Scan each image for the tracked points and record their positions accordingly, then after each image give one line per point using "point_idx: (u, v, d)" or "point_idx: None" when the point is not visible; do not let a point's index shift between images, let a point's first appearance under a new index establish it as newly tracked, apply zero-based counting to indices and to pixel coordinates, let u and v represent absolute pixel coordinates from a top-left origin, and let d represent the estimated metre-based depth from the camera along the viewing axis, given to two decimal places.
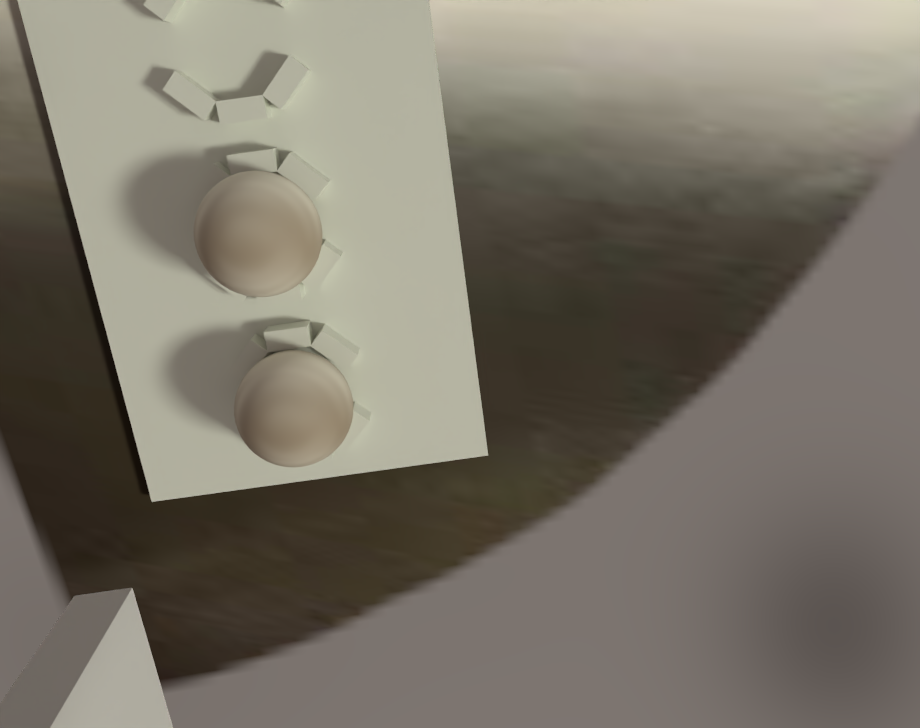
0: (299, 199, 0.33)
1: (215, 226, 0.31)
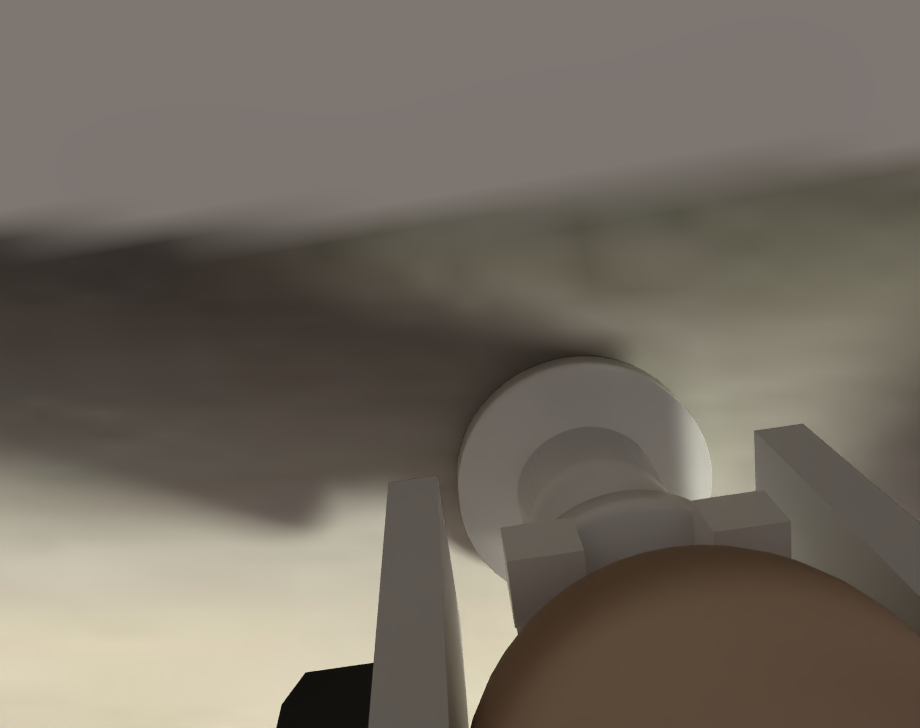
0: None
1: None
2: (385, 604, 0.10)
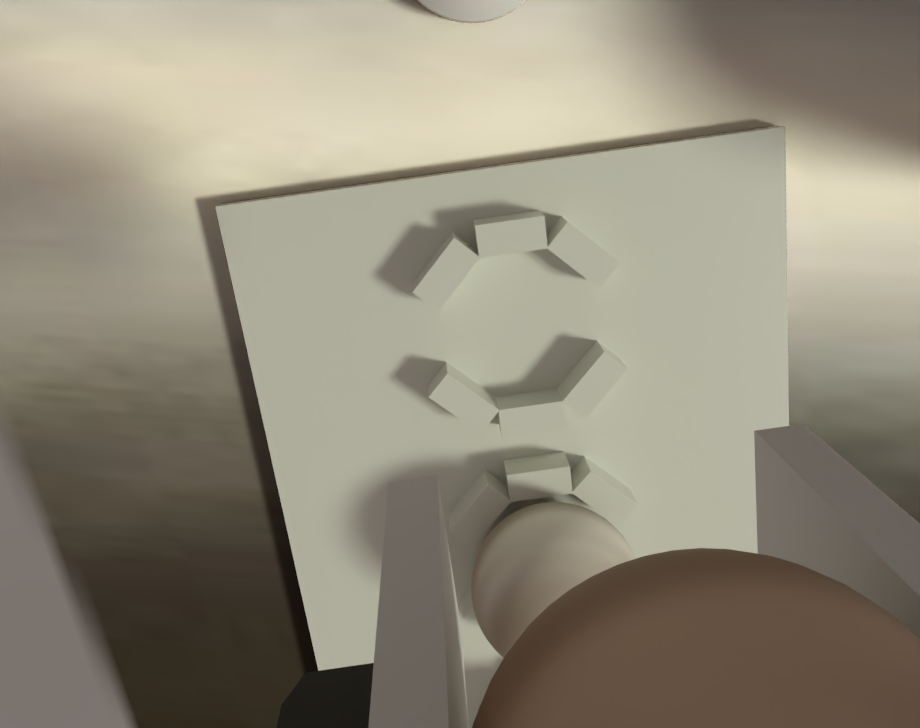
0: (626, 557, 0.24)
1: (523, 611, 0.23)
2: (385, 604, 0.10)
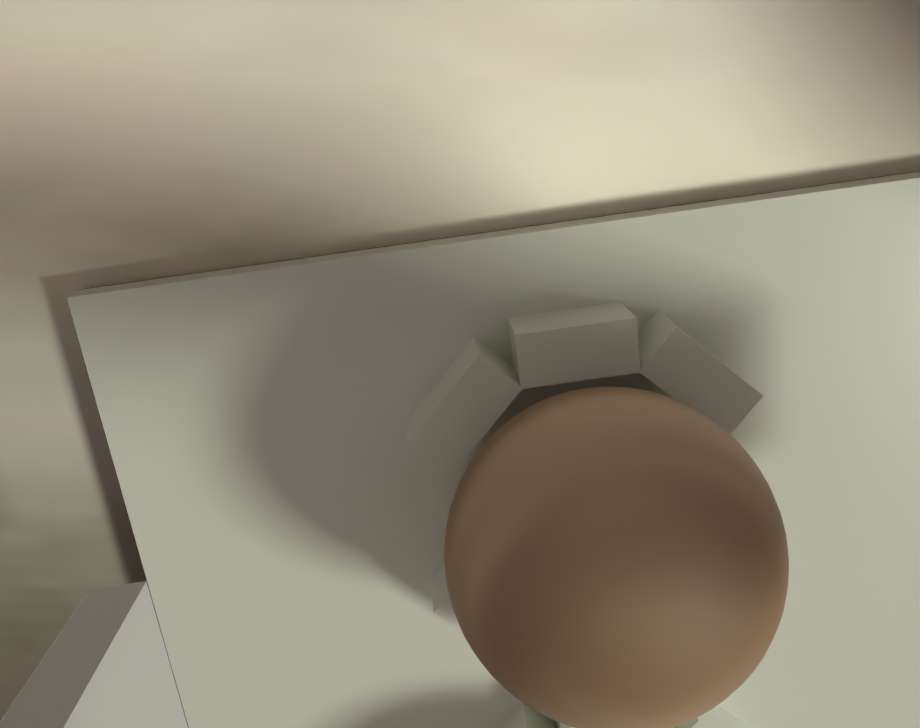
0: None
1: None
2: None
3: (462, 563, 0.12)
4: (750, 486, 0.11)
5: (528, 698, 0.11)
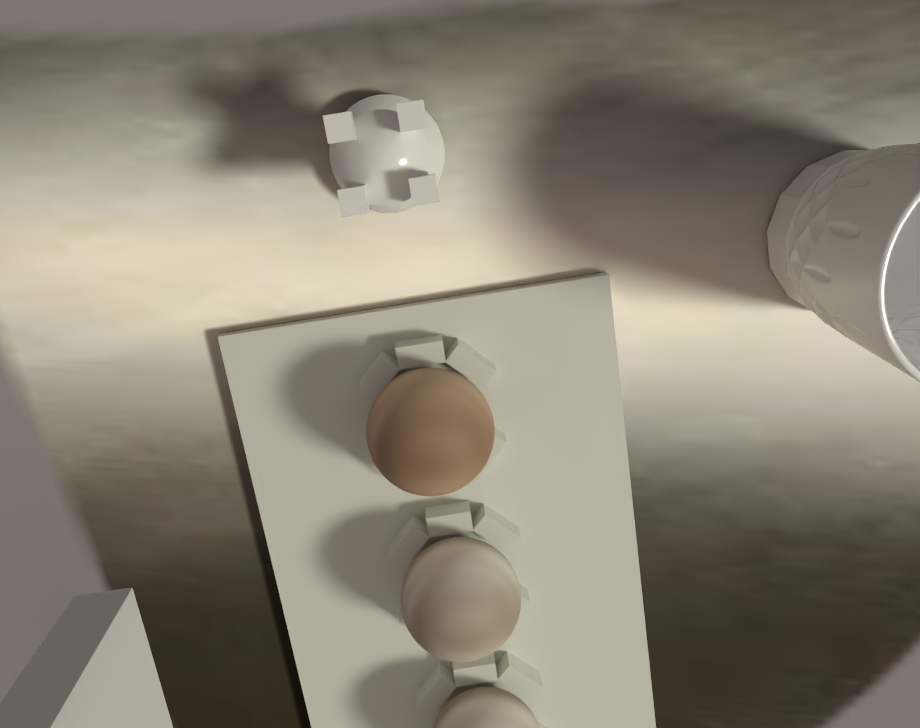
0: (505, 575, 0.34)
1: (431, 614, 0.33)
2: None
3: (369, 431, 0.32)
4: (470, 400, 0.31)
5: (393, 478, 0.32)
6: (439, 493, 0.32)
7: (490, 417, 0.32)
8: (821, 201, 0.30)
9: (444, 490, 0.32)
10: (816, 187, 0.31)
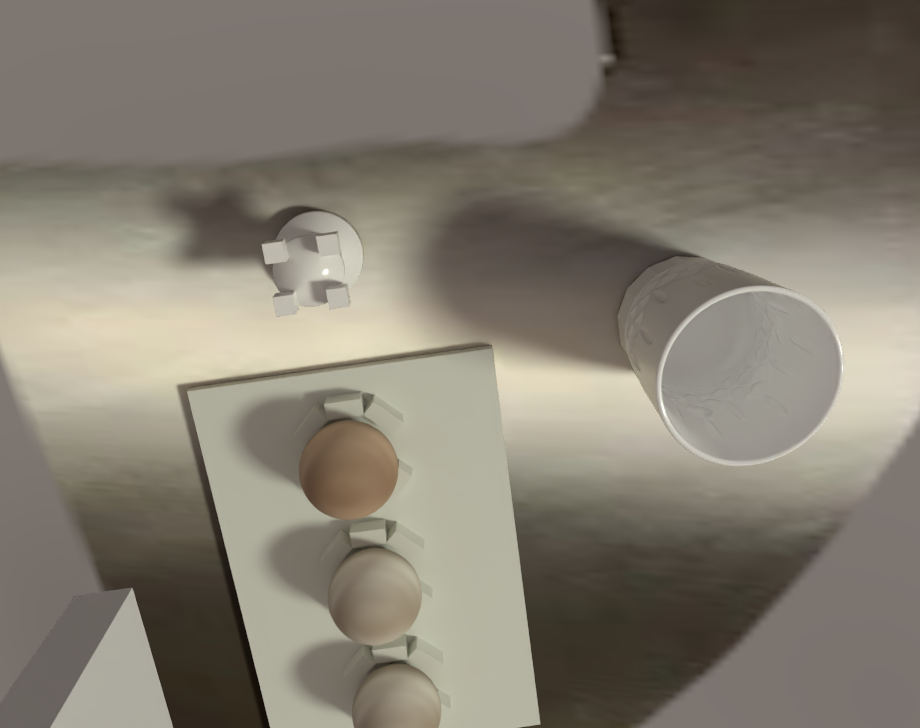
0: (408, 579, 0.44)
1: (348, 608, 0.43)
2: None
3: (300, 470, 0.42)
4: (376, 449, 0.41)
5: (317, 507, 0.41)
6: (352, 518, 0.42)
7: (393, 461, 0.42)
8: (643, 305, 0.40)
9: (356, 516, 0.42)
10: (643, 292, 0.41)
